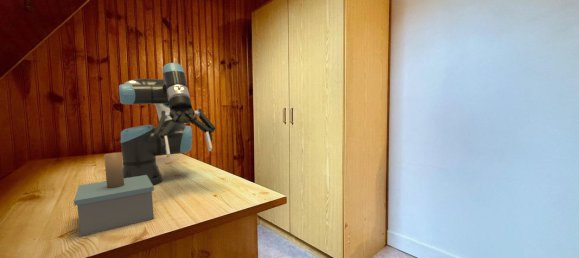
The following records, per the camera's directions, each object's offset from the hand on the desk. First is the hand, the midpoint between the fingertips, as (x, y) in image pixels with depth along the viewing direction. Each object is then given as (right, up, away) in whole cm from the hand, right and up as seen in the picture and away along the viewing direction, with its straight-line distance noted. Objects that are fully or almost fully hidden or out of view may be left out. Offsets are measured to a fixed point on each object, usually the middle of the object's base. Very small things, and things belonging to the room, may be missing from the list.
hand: (190, 152), depth 89 cm
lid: (-15, -9, -16) cm, 23 cm away
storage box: (-15, -17, -15) cm, 27 cm away
